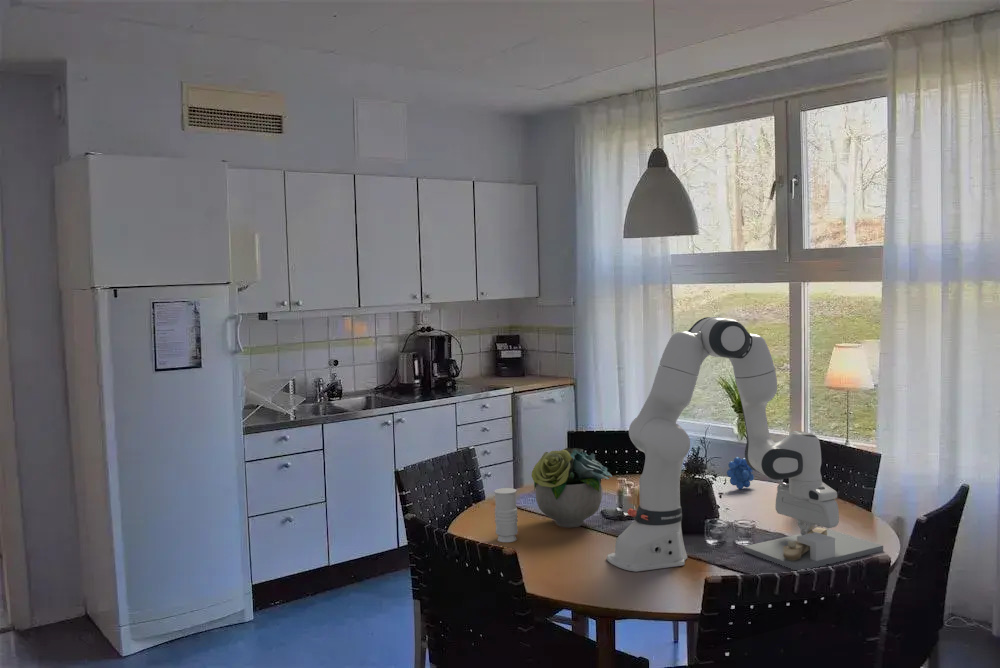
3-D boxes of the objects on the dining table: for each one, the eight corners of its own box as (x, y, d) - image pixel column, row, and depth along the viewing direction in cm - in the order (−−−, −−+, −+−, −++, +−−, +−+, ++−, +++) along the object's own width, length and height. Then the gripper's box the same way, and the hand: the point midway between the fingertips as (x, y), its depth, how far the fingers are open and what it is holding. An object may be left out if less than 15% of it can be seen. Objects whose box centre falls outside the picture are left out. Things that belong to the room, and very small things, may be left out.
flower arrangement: (565, 509, 288) (563, 438, 287) (624, 522, 271) (622, 447, 269) (514, 526, 271) (511, 450, 270) (573, 541, 253) (571, 460, 252)
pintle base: (798, 572, 220) (797, 547, 220) (744, 551, 238) (743, 528, 238) (883, 550, 235) (883, 527, 234) (826, 533, 252) (825, 511, 252)
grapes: (735, 493, 302) (734, 460, 301) (723, 489, 308) (722, 457, 307) (761, 489, 306) (760, 456, 305) (749, 485, 312) (748, 453, 312)
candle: (506, 534, 262) (505, 486, 262) (523, 538, 257) (521, 490, 257) (490, 539, 258) (489, 491, 257) (507, 544, 253) (505, 494, 252)
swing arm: (797, 560, 223) (796, 551, 223) (780, 557, 226) (780, 548, 226) (829, 537, 241) (829, 529, 241) (814, 535, 244) (814, 526, 244)
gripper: (769, 482, 248) (770, 529, 249) (826, 497, 230) (826, 546, 231) (785, 479, 251) (786, 525, 252) (842, 493, 233) (843, 542, 234)
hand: (806, 535), depth 242 cm, fingers closed
